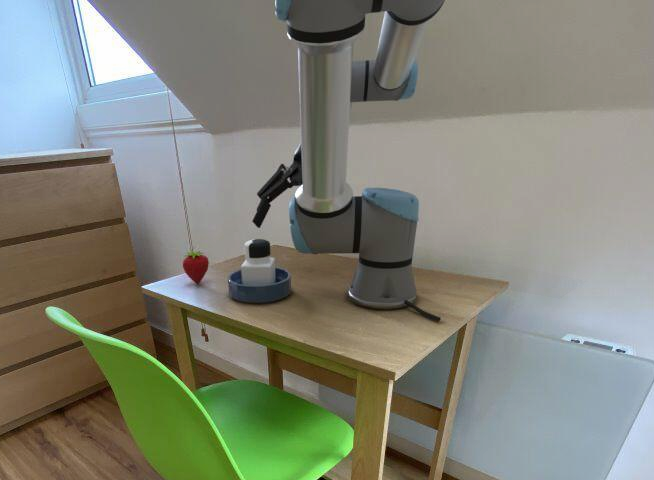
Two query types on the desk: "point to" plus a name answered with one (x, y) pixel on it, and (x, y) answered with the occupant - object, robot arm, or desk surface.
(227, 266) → the desk surface
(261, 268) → the medicine bottle
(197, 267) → the strawberry
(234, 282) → the bowl
